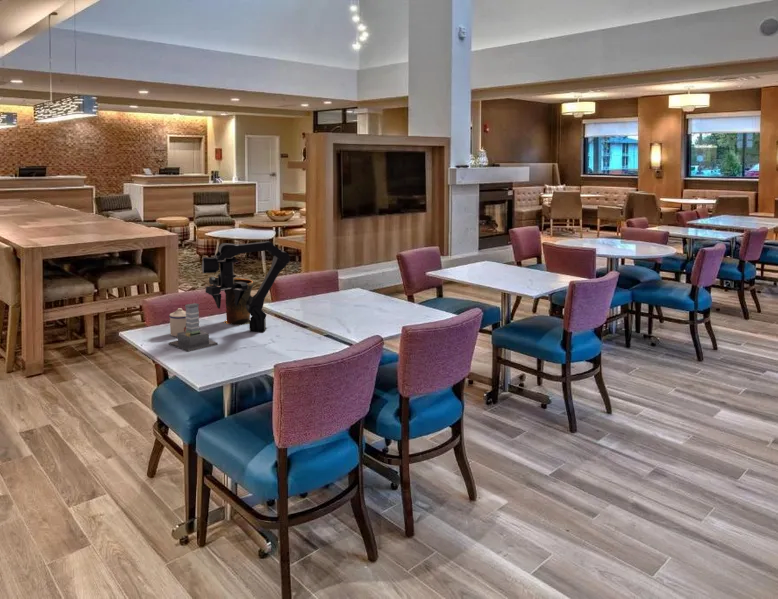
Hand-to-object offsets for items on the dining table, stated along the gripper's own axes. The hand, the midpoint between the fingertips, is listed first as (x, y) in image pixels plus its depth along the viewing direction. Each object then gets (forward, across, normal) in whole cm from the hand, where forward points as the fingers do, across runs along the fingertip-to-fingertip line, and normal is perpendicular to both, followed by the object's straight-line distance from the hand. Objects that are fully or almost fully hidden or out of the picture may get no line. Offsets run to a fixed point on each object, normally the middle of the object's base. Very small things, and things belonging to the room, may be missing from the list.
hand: (227, 306), depth 278 cm
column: (+7, +21, +6) cm, 23 cm away
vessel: (+12, -16, -14) cm, 24 cm away
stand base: (+12, +21, +6) cm, 25 cm away
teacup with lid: (+12, +15, -14) cm, 24 cm away
